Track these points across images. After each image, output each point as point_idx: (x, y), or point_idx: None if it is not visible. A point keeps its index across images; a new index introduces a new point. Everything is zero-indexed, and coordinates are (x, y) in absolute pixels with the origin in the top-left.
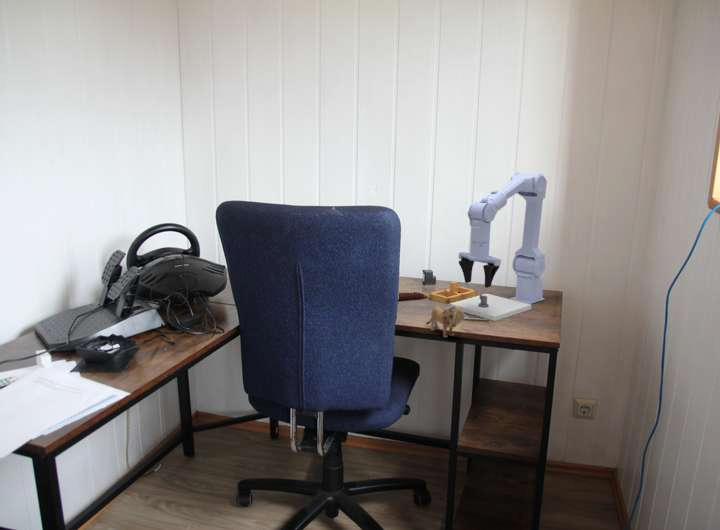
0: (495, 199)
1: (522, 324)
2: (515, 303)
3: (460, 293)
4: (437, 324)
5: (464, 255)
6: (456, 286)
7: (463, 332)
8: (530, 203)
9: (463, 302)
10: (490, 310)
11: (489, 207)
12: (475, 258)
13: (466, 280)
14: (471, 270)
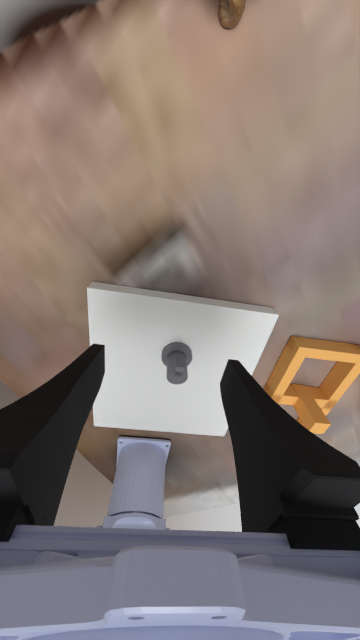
0: None
1: (20, 306)
2: (126, 414)
3: (280, 402)
4: (223, 10)
5: (358, 602)
6: (303, 419)
7: (77, 29)
8: None
9: (243, 349)
10: (137, 332)
11: None
12: (109, 592)
13: (232, 367)
14: (234, 445)
